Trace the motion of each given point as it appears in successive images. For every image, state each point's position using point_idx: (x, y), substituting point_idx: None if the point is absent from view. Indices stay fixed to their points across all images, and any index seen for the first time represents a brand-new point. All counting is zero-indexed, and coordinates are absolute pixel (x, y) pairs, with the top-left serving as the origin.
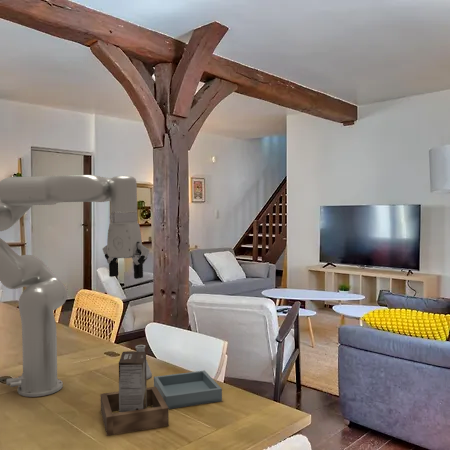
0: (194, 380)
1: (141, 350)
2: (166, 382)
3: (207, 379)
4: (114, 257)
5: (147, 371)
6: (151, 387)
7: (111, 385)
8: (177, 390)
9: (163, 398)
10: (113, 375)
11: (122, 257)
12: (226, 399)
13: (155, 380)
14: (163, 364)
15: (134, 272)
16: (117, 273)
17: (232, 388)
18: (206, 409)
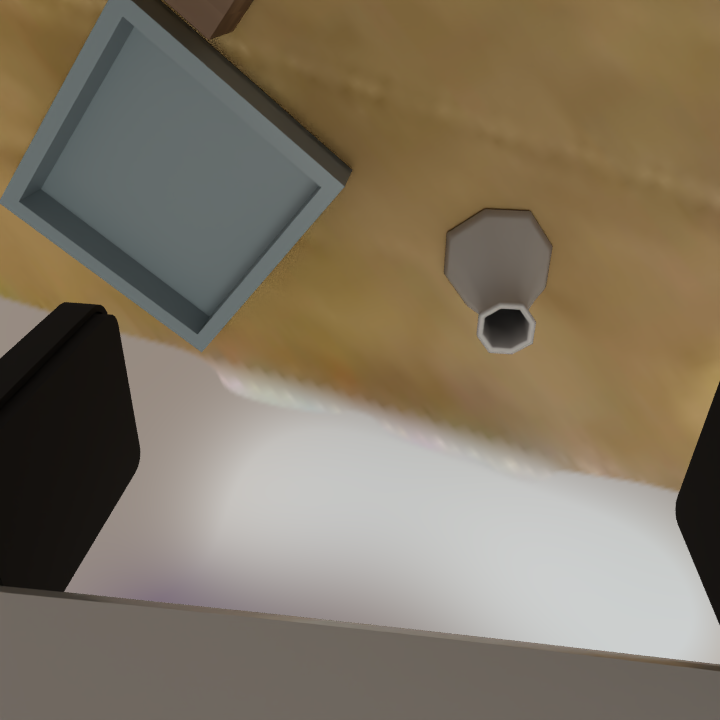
0: (227, 295)
1: (487, 307)
2: (301, 208)
3: (141, 285)
4: (708, 665)
5: (454, 269)
6: (218, 14)
7: (568, 99)
8: (221, 175)
9: (171, 23)
10: (640, 215)
11: (163, 604)
12: None
13: (313, 156)
14: (492, 420)
15: (32, 358)
16: (690, 518)
17: None
18: (15, 82)
